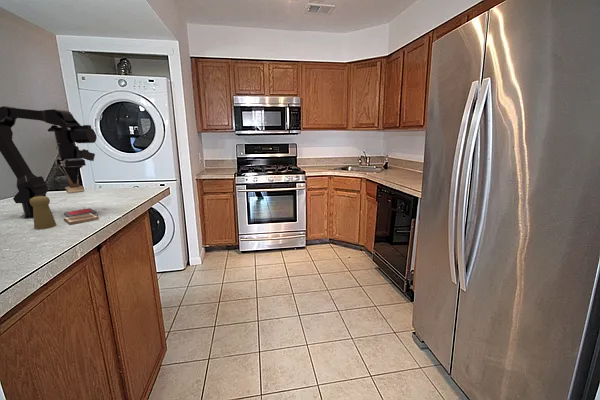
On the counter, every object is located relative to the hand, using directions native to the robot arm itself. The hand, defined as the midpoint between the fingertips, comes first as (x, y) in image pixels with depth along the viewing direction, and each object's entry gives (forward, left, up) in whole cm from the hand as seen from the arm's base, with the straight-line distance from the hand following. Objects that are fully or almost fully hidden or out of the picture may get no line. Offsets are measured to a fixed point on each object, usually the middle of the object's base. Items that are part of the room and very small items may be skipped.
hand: (73, 183), depth 115 cm
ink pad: (0, 0, -13) cm, 13 cm away
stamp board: (+10, -2, -13) cm, 17 cm away
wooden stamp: (0, 0, -4) cm, 4 cm away
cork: (+10, -12, -13) cm, 21 cm away
